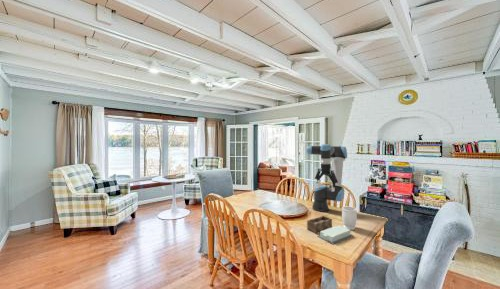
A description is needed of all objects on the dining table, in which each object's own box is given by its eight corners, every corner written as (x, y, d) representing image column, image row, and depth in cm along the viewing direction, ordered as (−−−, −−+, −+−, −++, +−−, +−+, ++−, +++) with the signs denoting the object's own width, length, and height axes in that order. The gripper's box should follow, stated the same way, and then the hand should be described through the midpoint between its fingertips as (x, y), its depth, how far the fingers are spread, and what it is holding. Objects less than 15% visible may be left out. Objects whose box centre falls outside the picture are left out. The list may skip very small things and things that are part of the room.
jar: (344, 223, 166) (344, 205, 165) (358, 227, 159) (358, 207, 159) (340, 228, 157) (340, 209, 157) (354, 232, 151) (355, 211, 150)
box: (323, 224, 165) (323, 215, 165) (331, 228, 158) (331, 219, 158) (307, 229, 156) (307, 220, 156) (315, 233, 149) (315, 224, 149)
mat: (337, 229, 156) (337, 228, 156) (353, 236, 145) (353, 235, 145) (317, 236, 145) (317, 235, 145) (332, 244, 134) (332, 244, 134)
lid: (338, 229, 154) (338, 225, 154) (350, 235, 145) (350, 230, 145) (318, 237, 143) (318, 232, 143) (330, 243, 135) (330, 237, 135)
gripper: (310, 162, 174) (310, 186, 175) (336, 165, 153) (336, 193, 154) (316, 161, 178) (316, 185, 179) (342, 164, 156) (342, 192, 158)
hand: (325, 189), depth 166 cm, fingers open, 13 cm apart
